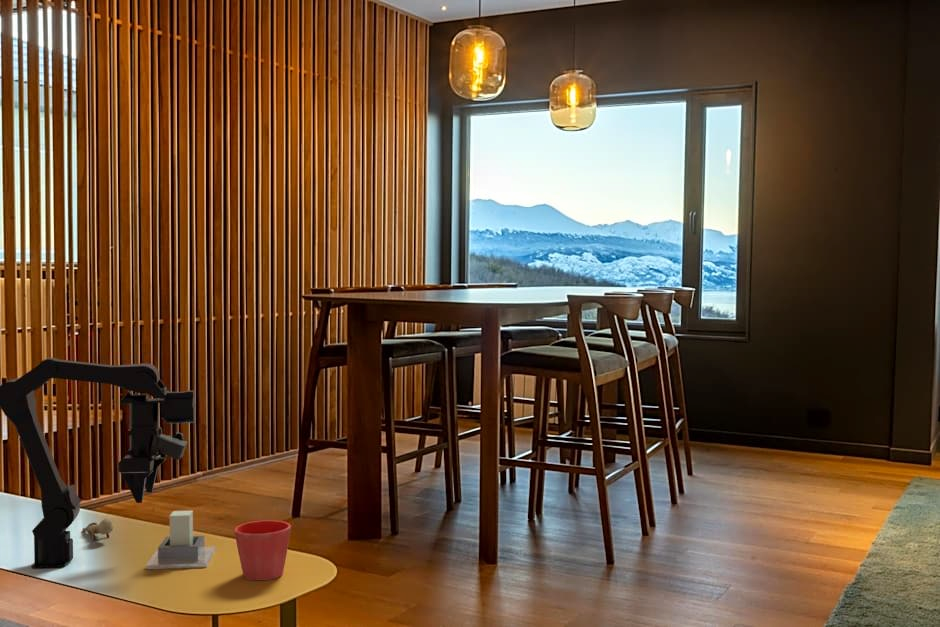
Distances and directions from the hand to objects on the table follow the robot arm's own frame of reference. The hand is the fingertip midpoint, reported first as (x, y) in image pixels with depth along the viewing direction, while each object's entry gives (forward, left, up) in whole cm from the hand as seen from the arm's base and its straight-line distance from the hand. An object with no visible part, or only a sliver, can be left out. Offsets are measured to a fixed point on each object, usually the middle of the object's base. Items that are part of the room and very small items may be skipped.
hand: (144, 497), depth 196 cm
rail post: (+8, -2, -12) cm, 15 cm away
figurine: (-14, +17, -13) cm, 26 cm away
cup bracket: (+8, -2, -13) cm, 15 cm away
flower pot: (+26, -14, -13) cm, 32 cm away
